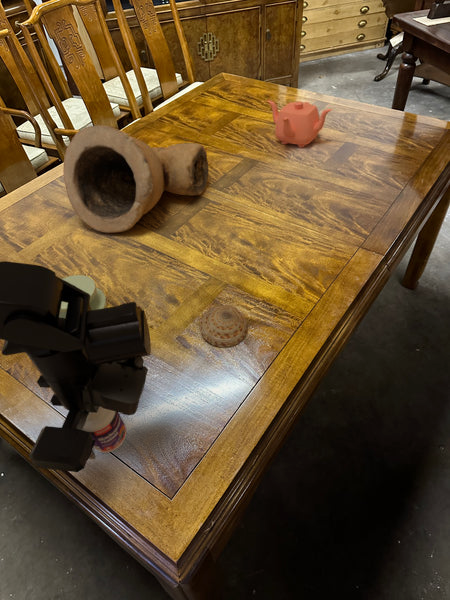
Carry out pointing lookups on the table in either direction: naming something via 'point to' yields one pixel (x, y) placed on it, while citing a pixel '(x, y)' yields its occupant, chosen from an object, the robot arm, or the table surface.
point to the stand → (89, 287)
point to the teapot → (297, 122)
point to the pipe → (127, 176)
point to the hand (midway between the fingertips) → (103, 426)
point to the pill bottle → (106, 429)
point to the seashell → (223, 326)
